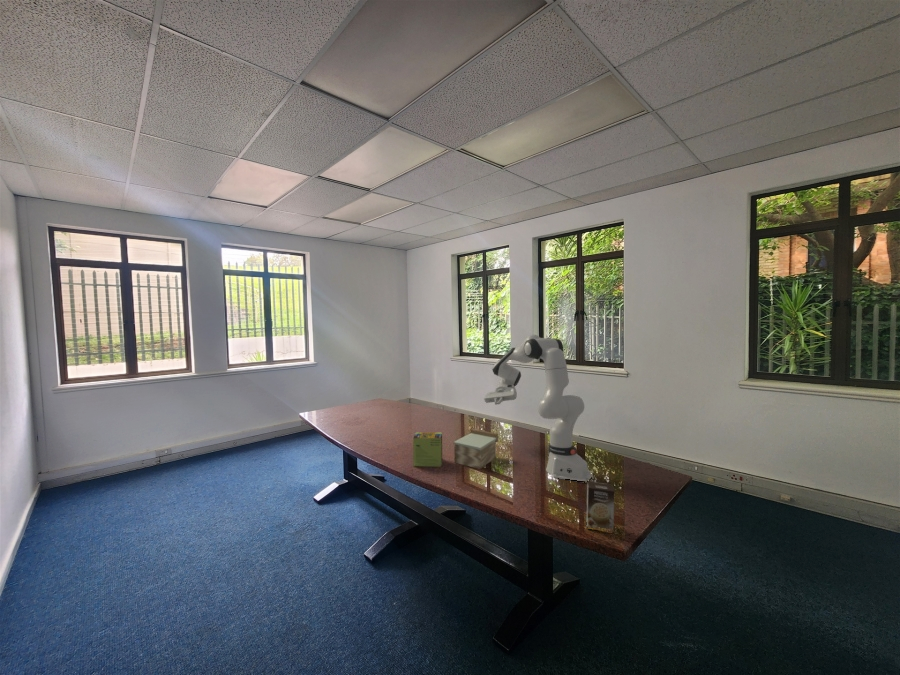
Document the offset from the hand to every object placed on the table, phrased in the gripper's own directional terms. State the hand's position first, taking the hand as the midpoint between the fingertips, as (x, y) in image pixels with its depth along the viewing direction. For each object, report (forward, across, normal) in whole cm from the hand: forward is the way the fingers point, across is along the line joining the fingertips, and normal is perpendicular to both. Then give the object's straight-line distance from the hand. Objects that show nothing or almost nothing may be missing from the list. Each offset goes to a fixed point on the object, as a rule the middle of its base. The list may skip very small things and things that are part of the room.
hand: (497, 403), depth 214 cm
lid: (+25, -9, +9) cm, 28 cm away
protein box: (+42, -32, +7) cm, 53 cm away
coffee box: (+70, +56, +16) cm, 91 cm away
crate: (+30, -10, +17) cm, 36 cm away
